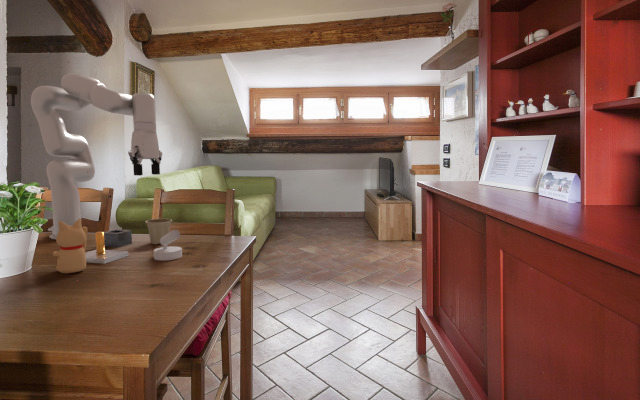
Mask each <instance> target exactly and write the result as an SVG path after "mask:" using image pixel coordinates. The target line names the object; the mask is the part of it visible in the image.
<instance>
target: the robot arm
mask: <svg viewBox="0 0 640 400" xmlns="http://www.w3.org/2000/svg"><path fill="white" fill-rule="evenodd" d="M60 85H61V87H58V86H53V85H39V86H37V87H36V88H35V89H33V91H32V93H31V95H30V96H31V97H30V106H31V108H32V112H33V114H34V117H36V120H37V123H38V126H39V130H40V134H41V137H42V142H43V146H44V149H45V151H46V153H47V154H49V156H51V157H58V158H59V157H64V158H59V159H58V158H57V159H54V160H52V161H50V162H49V163H48V164H47V165H46V176H47V179H48V182H49V186H50V187H49V188H50V195H51V196H50V198H51V209H52V210H54V211H55V212H53V211H52V223H53V225H51V227H49V228H48V229H47V231H48V232H52V234H50V235H49V239H50V238H51V239H50V240H56V238H57V234H58V232H59V230H60V229H59V221H62V222H64V223H65V224H67V225H68V226H72V225H73V224H74V223H75V222H76V221H77V220H78V219H79V218H80V219H81V220H82V214H81V211H82V210H81V197H80V191H79V189H78V187H77V186H76V184H75V183H83V182H90V181H91V180H93V178H94V177H95V172H96V169H95V163H94V160H93V157H92V152H91V149H90V145H89V142H88V141H87V139H86V138H85V137H84V136H82V135H81V134H77V133H69V132H68V131H67V127H66V124H65V122H64V119H63V118H62V117H61V115H60V114H59V113H58V112H57V111H56V110H61V111H69V112H78V111H81V110H84V109H85V108H86V107H88V106H89V105H92V106H93V107H95V108H97V109H100V110H103V111H105V112H108V113H111V114H119V115H124V116H131V117H133V119H132V120H133V122H132V123H133V131H132V133H131V139H130V140H131V141H130V145H131V146H130V150H129V151H128V156H129V159H130V161H131V164H132V166H133V176H143V173H144V172H143V164H141V163H142V161H143V160H150V161H151V165H150V166H151V175H161V169H160V166H161V165H160V164H161V161H162V157H163V152H162V151H161V150H160V146H159V139H158V134H157V117H156V114H157V113H156V99H155V95H153V94H152V93H148V92H147V93H146V92H136V93H133V94H129V93H128V94H127V93H123V92H119V91H114V90H110V89H108V88H107V86H106V85H105V84H104V83H103V82H100V80H98V79H96V78H95V77H92V76H87V75H84V74H83V75H82V74H79V73H73V72H71V73H66V74H65V75H63V76H62V78H61V79H60ZM65 157H67V159H66V158H65ZM69 157H70V158H69ZM82 227H83V226H82ZM82 227H81V228H82Z"/></svg>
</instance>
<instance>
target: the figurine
mask: <svg viewBox="0 0 640 400" xmlns="http://www.w3.org/2000/svg"><path fill="white" fill-rule="evenodd" d="M81 227H82V228H81ZM59 229H60V230H59V232H58V234H57V238H56V239H55V240H56V244H57V245H58V246H59V248H60V249H59V250H58V251H55V250H54V251H53V252H52V256H53V257H57V260H56V267H55V269H56V271H58V272H60V273H61V274H73V273H74V274H75V273H78V272H81V271H84V270H85V269H86V267H87V262H86V255H85V253H86V248H87V241H88V227H86V226H82V218H81V219H80V218H79V219H78V220H77V221H76V222H75V223H74V224H73V225H72V226H68V225H67V224H65V223H64V222H62V221H59Z"/></svg>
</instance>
